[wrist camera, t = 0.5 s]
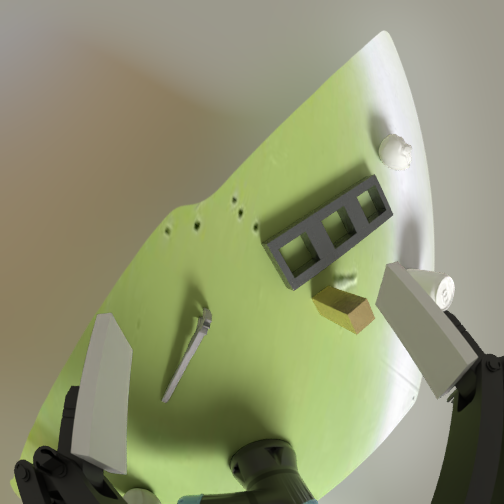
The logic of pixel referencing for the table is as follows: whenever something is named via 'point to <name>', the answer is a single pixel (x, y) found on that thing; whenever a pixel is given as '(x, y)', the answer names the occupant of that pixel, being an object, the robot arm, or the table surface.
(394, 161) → the white rounded lump
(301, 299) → the table surface
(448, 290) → the beverage can
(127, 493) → the glass bottle
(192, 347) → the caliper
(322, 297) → the wooden peg
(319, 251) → the grey slotted holder
